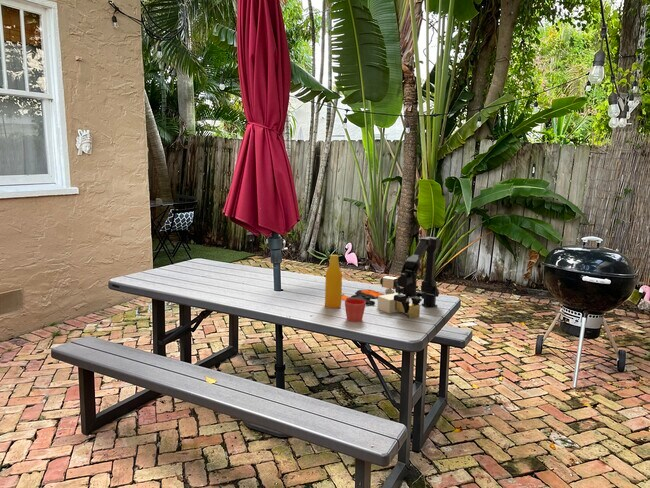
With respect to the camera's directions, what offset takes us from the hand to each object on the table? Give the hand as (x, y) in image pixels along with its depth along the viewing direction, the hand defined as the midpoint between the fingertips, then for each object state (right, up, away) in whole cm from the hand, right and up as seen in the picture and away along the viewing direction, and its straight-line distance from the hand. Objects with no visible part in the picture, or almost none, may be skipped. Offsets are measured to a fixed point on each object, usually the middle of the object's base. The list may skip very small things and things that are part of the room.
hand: (409, 312), depth 247 cm
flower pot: (-30, -3, -9) cm, 31 cm away
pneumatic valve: (-5, +5, +42) cm, 43 cm away
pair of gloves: (-21, +3, +32) cm, 38 cm away
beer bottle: (-40, +1, +15) cm, 43 cm away
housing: (-7, 0, +11) cm, 13 cm away
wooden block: (-2, -1, +4) cm, 5 cm away
